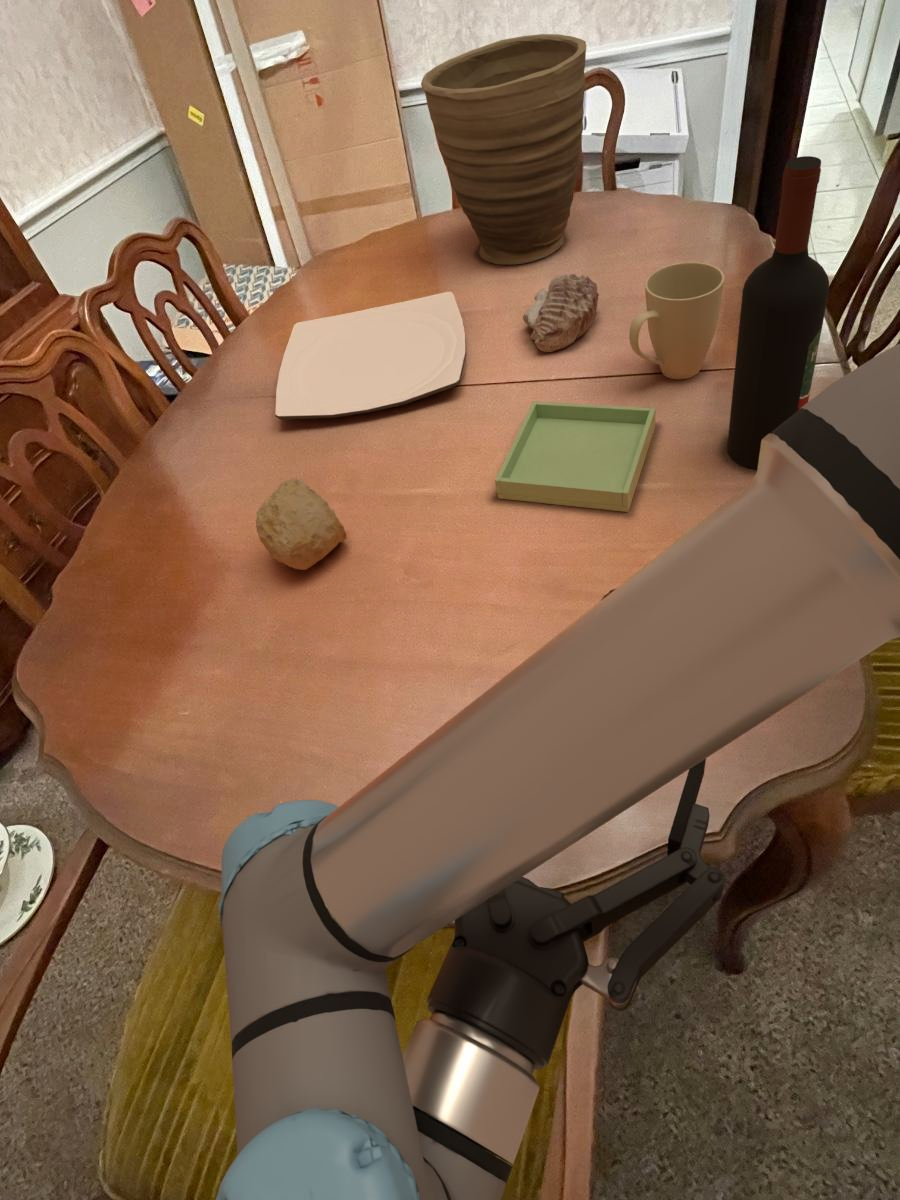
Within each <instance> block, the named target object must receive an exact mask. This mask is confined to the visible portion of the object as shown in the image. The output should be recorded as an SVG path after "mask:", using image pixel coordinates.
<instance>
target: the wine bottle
mask: <svg viewBox="0 0 900 1200" xmlns="http://www.w3.org/2000/svg"><path fill="white" fill-rule="evenodd" d="M821 167H822V160H821V159H820V158H819V157H816V156H812V155H811V156H810V155H807V156H806V155H804V156H799V157H793V158H791V159H789V160H788V161H786V162H785V165H784V171H783V175H782V182H781V186H782V188H781V189H782V190H781V198H780V204H779V213H778V219H777V229H776V235H775V244H774V249H773V251H772V255H771V256H770V257H769V258H767V259H766V260H764V261H763V262H762V263H760V264H759V265H757V266H756V267H755V268H754V269H753V270H752V272H751V273H750V274H749V275H748V276H747V278H746V280H745V281H744V284H743V288H742V292H741V293H742V294H741V302H740V303H741V304H740V313H739V324H738V334H737V344H736V352H735V354H736V355H735V364H734V373H733V374H734V375H733V383H732V386H733V387H732V393H731V404H730V405H731V406H730V414H729V416H730V417H729V425H728V434H727V445H726V447H727V454H728V456H729V458H730V460H732V461H733V462H734V463H736V464H737V465H739V466H741V467H744V468H746V469H750V470H756V471H757V469H758V462H759V455H760V447H761V441H762V439H763V438H764V437H765V436H766V435H768V434H769V433H771V432H772V431H773V430H775V429H776V428H777V427H778V426H779V425H781V424H782V423H783V422H784V421H786V420H787V419H788V418H789V417H791V416H792V415H793V414H794V413H796V412H797V411H798V410H799V409H800V408H801V407H802V406H804V405H805V404H806V403H808V402H809V401H810V395H811V389H812V383H813V378H814V372H815V369H816V362H817V357H818V352H819V347H820V341H821V336H822V331H823V324H824V319H825V315H826V311H827V310H826V308H827V304H828V298H829V293H830V279H829V275H828V273H827V272H826V271H825V269H824V267H823V266H822V265H821V264H820V263H819V262H818V261H817V260H815V259H814V258H812V257H811V256H809V242H810V236H811V230H812V223H813V216H814V210H815V205H816V199H817V192H818V186H819V183H820V178H821V173H822V168H821Z"/></svg>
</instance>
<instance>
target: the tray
mask: <svg viewBox="0 0 900 1200" xmlns="http://www.w3.org/2000/svg"><path fill="white" fill-rule="evenodd" d="M656 411H657V410H656V407H642V406H625V405H624V406H623V405H604V404H588V403H568V402H549V401H532V402H531V405H530V407H529V409H528V410H527V413H526V415H525V417H524V419H523V421H522V423H521V426H520V427H519V429H518V431H517V434H516V435H515V438H514V440H513V442H512V444H511V446H510V448H509V450H508V452H507V454H506V456H505V458H504V461H503V463H502V464H501V466H500V468H499V471H498V473H497V475H496V477H495V479H494V484H495V489H496V493H497V498H498V499H502V500H509V501H510V500H511V501H521V502H528V503H529V502H530V503H538V504H547V505H558V506H566V507H575V508H585V509H586V508H587V509H595V510H604V511H614V512H623V513H629V512H630V507H631V506H632V505H631V504H632V501H633V499H634V495H635V492H636V489H637V486H638V483H639V480H640V476H641V473H642V470H643V467H644V464H645V461H646V457H647V456H648V455H647V454H648V451H649V449H650V445H651V442H652V440H653V435H654V432H655V429H656V414H657V413H656Z"/></svg>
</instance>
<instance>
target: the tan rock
mask: <svg viewBox="0 0 900 1200" xmlns="http://www.w3.org/2000/svg"><path fill="white" fill-rule="evenodd" d="M255 529H256V533H257V534H258V538H259V541H260V543H261V544H262V545H263V547H264V548H265V549H266V550H267V551H268V553H269V555H270V557H271V558H273V559H275V560H276V561H277V562H279V563H282V564H284V565H286V566H288V567H289V568H293V569H294V570H299V571H300V570H303V571H306V570H308V569H310V568H311V567H313V566H314V565H315V564H317V563H318V562H319V561H322V560H323V559H324V558H325V557H326V556H327V555H328V554H330V552H333V550H334V549H335V548H336V547H338V545H339V544H340V543H344V542H345V540H346V539H347V532H346V529H345V527H344V526H343V524H342V523H341V520H340V519H339V518H338V517H337V515H336V512H335V509H334V508H333V509H331V507H330V505H329V503H328V501H327V500H326V499H325V498H323V497H322V496H321V495H320V494H319V493H317V492H316V491H315V490H314V489H311V488H310V486H309V485H308V484H307V483H305V482H304V481H302V479H300V478H299V479H298V478H296V477H293V478H291V479H289V480H285V481H283V482H282V483H281V484H280V485H278V487H277V488H276V489H275V490H274V491H273V492H272V494H271V495H270V496H269V497H268V498H266V500H265V501H264V502H263V503H262V505H260V507H259V508H258V510H257V511H256V519H255Z"/></svg>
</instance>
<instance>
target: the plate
mask: <svg viewBox="0 0 900 1200" xmlns="http://www.w3.org/2000/svg"><path fill="white" fill-rule="evenodd" d="M466 339H467V338H466V332H465V326H464V320H463V317H462V315H461V311H460V309H459V306H458V304H457V300H456V298H455V295H454V293H453V291H445V292H444V291H443V292H440V293H436V294H431V295H426V296H423V297H419V298H414V299H410V300H405V301H400V302H396V303H389V304H386V305H381V306H375V307H371V308H366V309H362V310H357V311H352V312H347V313H343V314H342V313H341V314H337V315H336V314H335V315H331V316H326V317H320V318H315V319H309V320H304V321H299V322H296V323H295V324H293V327H292V330H291V333H290V335H289V339H288V342H287V345H286V347H285V351H284V353H283V357H282V361H281V364H280V367H279V372H278V377H277V382H276V383H277V384H276V389H275V418H277V419H279V420H304V419H305V420H306V419H307V420H308V419H335V418H342V417H347V416H353V415H361V414H366V413H372V412H376V411H381V410H385V409H391V408H394V407H400V406H404V405H407V404H409V403H413V402H415V401H419V400H421V399H424V398H427V397H430V396H433V395H436V394H438V393H441V392H443V391H447V390H450V389H452V388H454V387H455V386H457V385H458V384H460V382H461V379H462V373H463V371H464V370H463V369H464V365H465V360H466V355H467V347H466V346H467V341H466Z"/></svg>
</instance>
